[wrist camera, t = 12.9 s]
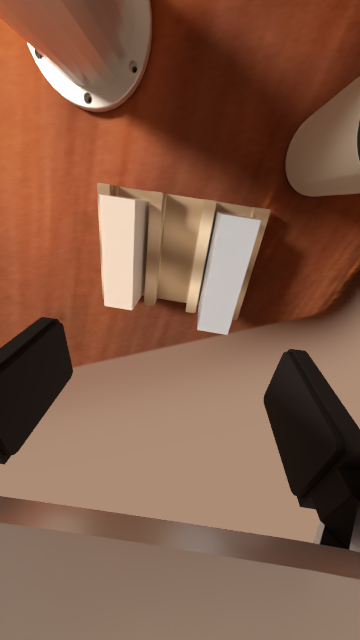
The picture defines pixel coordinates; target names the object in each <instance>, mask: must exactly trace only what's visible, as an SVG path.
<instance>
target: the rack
mask: <svg viewBox="0 0 360 640" xmlns="http://www.w3.org/2000/svg"><path fill="white" fill-rule="evenodd" d="M97 190H98V211H99V231H100V251H101V272H102V292H103V298H104V285H103V263H102V241H101V219H100V197H99V194H101V195H112V196H122V197H129V198H136V199H142V200H148V201H150V207H149V225H148V242H147V260H146V278H145V292H144V293H143V295H142V296H144V305H148V306H154V305H155V303H156V300H157V298H159V299H165V300H171V301H177V302H183V303H187V305H186V311H185V312H190V313H195V312H196V306H197V305H198V304H199V295H200V290H201V285H202V280H203V275H204V270H205V264H206V259H207V254H208V249H209V244H210V239H211V234H212V229H213V224H214V219H215V214H216V211H218V212H225V213H231V214H237V215H244V216H247V217H251V218H254V219H258V220H261V223H260V227H259V230H258V233H257V237H256V240H255V243H254V247H253V250H252V254H251V257H250V260H249V264H248V267H247V270H246V274H245V277H244V281H243V284H242V287H241V291H240V294H239V297H238V301H237V304H236V307H235V311H234V314H233V318H232V319H233V320H237V319H238V315H239V312H240V309H241V306H242V303H243V299H244V296H245V293H246V290H247V286H248V283H249V280H250V277H251V273H252V270H253V267H254V264H255V260H256V257H257V254H258V251H259V247H260V244H261V241H262V238H263V235H264V231H265V228H266V225H267V222H268V218H269V215H270V212H271V210H270V209H263V208H255V207H247V206H241V205H234V204H228V203H222V202H217V201H212V200H205V199H204V200H202V199H196V198H189V197H183V196H176V195H170V194H165V193H160V192H154V191H144V190H138V189H131V188H125V187H119V186H114V185H109V184H102V183H97Z"/></svg>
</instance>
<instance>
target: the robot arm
mask: <svg viewBox="0 0 360 640" xmlns="http://www.w3.org/2000/svg"><path fill="white" fill-rule="evenodd" d="M0 18H1V19H3V20H4V21H5V22H6V23H7V24H8V25H9V26H10V27H11V28H12V29H13V30H15V31H16V32H17V33H18V34H19V35H20V36H21V37H22V38H23V39H24V40H25V41H26V42H27V45H28V47H29V50H30V52H31V54H32V56H33V58H34V60H35V63H36V64H37V66H38V68H39V69H40V71H41V72H42V74H43V76H44V77H45V78H46V80H47V81H48V82H49V83H50V85H51V86H52V87H53V88H54V89H55V90H56V91H57V92H58V93H59V94H60V95H62V96H63V97H64V98H65V99H66V100H68V101H69V102H71V103H72V104H73V105H75V106H77V107H79V108H82V109H84V110H87V111H92V112H106V111H109V110H112V109H115V108H117V107H118V106H120V105H121V104H123V103H124V102H125V101H126V100H127V99H128V98H129V97H130V96H131V95H132V94H133V93H134V91H135V90H136V88H137V87H138V85H139V83H140V82H141V79H142V77H143V74H144V72H145V70H146V67H147V63H148V59H149V55H150V50H151V40H152V9H151V2H150V0H0ZM134 69H137V71H136V73H133V71H134ZM91 99H92V102H91V103H90V100H91ZM72 373H73V369H72V364H71V359H70V355H69V350H68V346H67V341H66V337H65V332H64V328H63V324H62V323H60V322H59V320H58V319H53V318H45V317H42V318H40V319H38V320H37V321H36V322H34V323H33V324H32V325H30V326H29V327H28V328H26V329H25V330H24V331H22V332H21V333H20V334H18V335H17V336H16V337H15V338H13V339H12V340H11V341H9V342H8V343H7V344H5V345H4V346H3V347H1V348H0V464H5V463H6V462H7V460H8V459H9V458H10V456H11V455H14V454H16V452H18V451H19V449H20V448H21V446H22V445H23V444H24V442H25V441H26V439H27V438H28V437H29V435H30V434H31V432H32V431H33V429H34V428H35V427H36V426H37V424H38V423H39V421H40V420H41V419H42V417H43V416H44V414H45V413H46V412H47V410H48V409H49V407H50V406H51V405H52V403H53V402H54V400H55V399H56V398H57V396H58V395H59V393H60V392H61V391H62V389H63V388H64V386H65V385H66V383H67V382H68V381H69V379H70V378H71V376H72ZM264 405H265V408H266V411H267V414H268V418H269V421H270V424H271V428H272V431H273V434H274V437H275V440H276V444H277V447H278V450H279V453H280V456H281V460H282V463H283V466H284V470H285V473H286V476H287V479H288V483H289V486H290V489H291V491H292V493H293V494H294V495H295V496H297V499H298V502H299V505H300V507H304V508H311V509H316V510H317V513H318V516H319V518H320V522H319V526H318V529H317V532H316V536H315V539H314V543H308V542H302V541H297V540H291V539H285V538H279V537H272V536H266V535H258V534H253V533H246V532H239V531H233V530H227V529H220V528H213V527H207V526H200V525H194V524H187V523H181V522H174V521H167V520H160V519H154V518H146V517H140V516H133V515H126V514H120V513H113V512H106V511H99V510H93V509H86V508H79V507H72V506H65V505H58V504H51V503H44V502H37V501H30V500H23V499H16V498H8V497H2V496H0V640H360V429H359V427H358V426H357V424H356V423H355V422H354V420H353V419H352V417H351V416H350V414H349V413H348V411H347V410H346V409H345V407H344V406H343V404H342V403H341V401H340V400H339V398H338V397H337V395H336V394H335V392H334V391H333V389H332V388H331V387H330V385H329V384H328V382H327V381H326V379H325V378H324V376H323V375H322V373H321V372H320V371H319V369H318V368H317V366H316V365H315V364H314V362H313V360H312V359H311V357H310V356H309V354H308V353H307V352H306V351H301V350H294V349H289V350H288V351H287V352H284V353H283V355H282V357H281V359H280V361H279V364H278V366H277V368H276V370H275V373H274V375H273V377H272V379H271V382H270V384H269V386H268V388H267V391H266V393H265V395H264Z"/></svg>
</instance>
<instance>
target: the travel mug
mask: <svg viewBox="0 0 360 640" xmlns="http://www.w3.org/2000/svg"><path fill="white" fill-rule="evenodd" d="M285 166H286V174H287V178H288V181H289V183H290V184H291V186H292V187H293V188H294V189H295V190H296V191H297V192H298V193H300V194H302V195H305V196H311V197H315V196H330V195H344V194H359V193H360V76H359V77H358V78H356V79H355V80H354V81H353V82H351V83H350V84H349V85H348V86H347V87H345V88H344V89H343V90H342V91H340V92H339V93H338V94H337V95H336V96H334V97H333V98H332V99H331V100H329V101H328V102H327V103H326V104H325V105H323V106H322V107H321V108H320V109H318V110H317V111H316V112H315V113H314V114H312V115H311V116H310V117H309V118H308V119H307V120H306V121H305V122H304V123H303V124H302V125H301V126H300V127H299V129H298V130H297V131H296V133H295V135H294V136H293V138H292V140H291V142H290V145H289V148H288V151H287V155H286V164H285Z"/></svg>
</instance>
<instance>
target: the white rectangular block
mask: <svg viewBox="0 0 360 640" xmlns="http://www.w3.org/2000/svg"><path fill="white" fill-rule="evenodd" d="M260 223H261V220H258V219H254V218H251V217H247V216H244V215H237V214H231V213H225V212H218V211H216V214H215V219H214V224H213V229H212V234H211V239H210V244H209V249H208V254H207V259H206V264H205V270H204V275H203V280H202V285H201V290H200V295H199V304H198V325H197V330H202V331H208V332H214V333H220V334H226V335H227V334H228V331H229V328H230V324H231V321H232V318H233V314H234V311H235V307H236V304H237V301H238V297H239V294H240V291H241V287H242V284H243V281H244V277H245V274H246V270H247V267H248V264H249V260H250V257H251V254H252V250H253V247H254V243H255V240H256V237H257V233H258V230H259V227H260Z"/></svg>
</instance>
